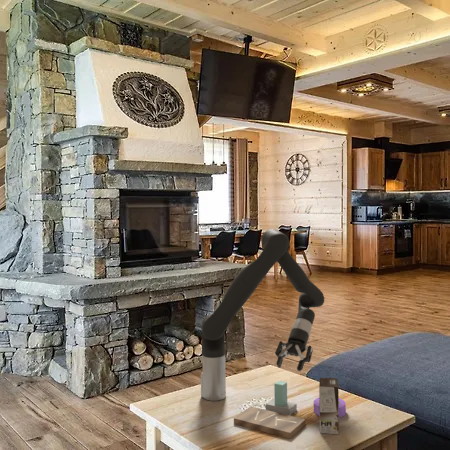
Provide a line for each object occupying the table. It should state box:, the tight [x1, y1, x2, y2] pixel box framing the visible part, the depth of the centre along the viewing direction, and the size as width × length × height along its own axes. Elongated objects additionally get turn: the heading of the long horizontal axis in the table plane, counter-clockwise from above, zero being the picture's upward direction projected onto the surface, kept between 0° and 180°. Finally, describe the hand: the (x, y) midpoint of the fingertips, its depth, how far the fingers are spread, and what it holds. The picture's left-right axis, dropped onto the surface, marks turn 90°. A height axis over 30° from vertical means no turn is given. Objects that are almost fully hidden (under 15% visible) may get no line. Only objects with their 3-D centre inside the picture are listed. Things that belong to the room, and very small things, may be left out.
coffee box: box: [318, 377, 340, 435], centre depth 171 cm, size 9×6×16 cm
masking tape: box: [313, 397, 347, 419], centre depth 185 cm, size 12×12×4 cm
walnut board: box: [233, 406, 306, 440], centre depth 176 cm, size 22×12×2 cm, turn 57°
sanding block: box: [264, 380, 298, 416], centre depth 187 cm, size 10×6×10 cm, turn 57°
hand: (288, 368), depth 193 cm, fingers open, 8 cm apart
